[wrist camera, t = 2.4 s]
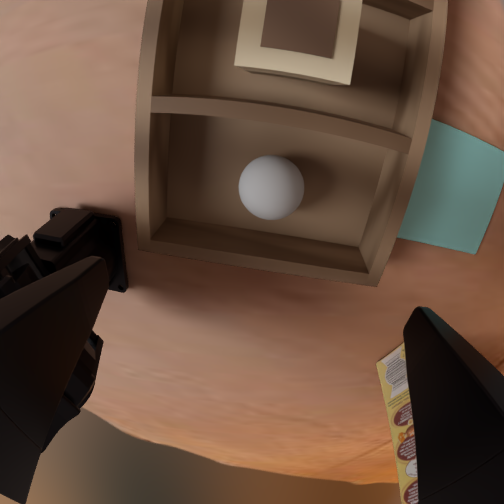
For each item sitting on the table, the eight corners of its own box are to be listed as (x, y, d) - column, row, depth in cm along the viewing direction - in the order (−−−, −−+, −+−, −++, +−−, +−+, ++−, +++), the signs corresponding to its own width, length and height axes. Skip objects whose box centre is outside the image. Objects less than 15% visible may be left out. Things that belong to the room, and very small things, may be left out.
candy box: (373, 362, 25) (397, 519, 12) (408, 336, 23) (451, 500, 10) (419, 386, 27) (446, 509, 14) (449, 365, 25) (487, 491, 12)
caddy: (364, 256, 20) (376, 287, 17) (157, 223, 20) (138, 249, 17) (422, -72, 7) (444, -89, 4) (200, -108, 7) (186, -132, 4)
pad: (472, 251, 18) (475, 254, 18) (387, 232, 18) (388, 235, 18) (508, 154, 14) (511, 155, 14) (420, 114, 14) (423, 115, 14)
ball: (296, 209, 18) (299, 236, 15) (239, 200, 18) (230, 225, 15) (307, 154, 16) (313, 171, 13) (246, 144, 16) (238, 159, 13)
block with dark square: (327, 85, 14) (353, 85, 9) (250, 73, 14) (233, 65, 9) (337, 20, 12) (367, -12, 7) (260, 7, 12) (248, -33, 7)
